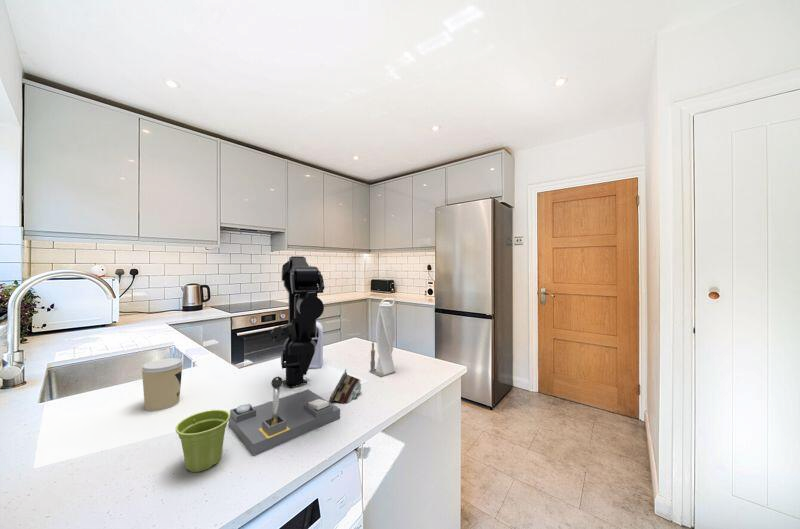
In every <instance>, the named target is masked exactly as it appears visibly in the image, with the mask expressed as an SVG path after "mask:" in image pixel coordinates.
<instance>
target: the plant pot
mask: <svg viewBox="0 0 800 529" xmlns="http://www.w3.org/2000/svg"><path fill="white" fill-rule="evenodd" d="M229 419H230V412H228V411H227V410H224V409H209V410H205V411H201V412H197V413H194V414H192V415H189V416H187V417H186V418H185V417H184V419H182V420H181V421H179V422H178V423H177V424H176V425H175V433H176V434H177V435H178V438H179V439H180V443H181V448H182V452H183V457H184V464H185V469H186V470H187V471H190V472H191V473H197V472H198V473H199V472H204V471H206V470H209V469H211V467H212V466H214V465H216V464H218V463H219V462H220V461H221V459H222V454H223V447H224V440H225V434H226V433H225V432H226V429H227V426H228V420H229Z"/></svg>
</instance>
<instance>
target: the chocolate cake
mask: <svg viewBox="0 0 800 529" xmlns="http://www.w3.org/2000/svg"><path fill="white" fill-rule="evenodd" d="M361 390H362V383H361V379H360V378H357V377H354V376H352V375H349V374H348V372H347V369H344V372H343V373H342V375H341V377H340V379H339V381H338V383H337V384H336V386H335V388H334V390H332V393H331V394H330V397H329V399H328V402H330V403H332V404H333V403H334V401H335V402H338V403H342V404H343V405H347V404H349V403H350V402H351V401H352V400H357V399H358V397H357V395H359V394H360V393H361Z"/></svg>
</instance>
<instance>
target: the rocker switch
mask: <svg viewBox="0 0 800 529" xmlns="http://www.w3.org/2000/svg"><path fill="white" fill-rule="evenodd" d="M327 401H328V400H327ZM327 401H324V400H320V399H317V400H314V401H312V402H309V403H308V406H310V407H311V408H313V409H316V410H319V409H322V408H324V407H327V406H329V401H328V402H327Z"/></svg>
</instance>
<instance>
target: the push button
mask: <svg viewBox="0 0 800 529" xmlns="http://www.w3.org/2000/svg"><path fill="white" fill-rule="evenodd" d="M248 404H249V403H248ZM248 404H241V405H239V406H237V407H236V408H237V412H236V413H237V415H241V414H244V413H247V412H250V405H251V404H250V405H248Z"/></svg>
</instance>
